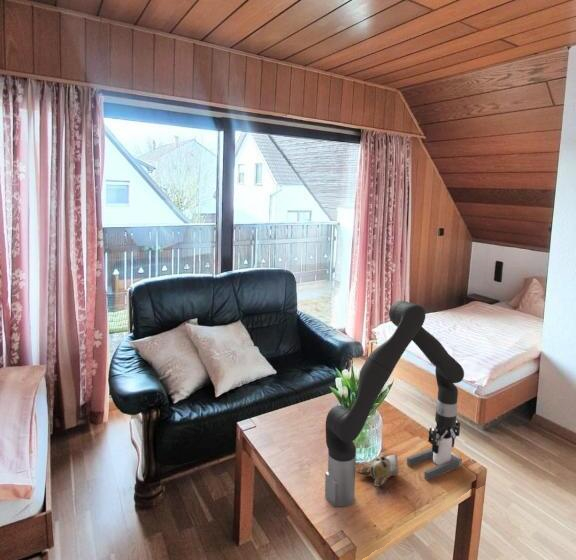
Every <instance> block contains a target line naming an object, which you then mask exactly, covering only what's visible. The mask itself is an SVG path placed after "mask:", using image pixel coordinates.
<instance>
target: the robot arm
mask: <svg viewBox="0 0 576 560" xmlns="http://www.w3.org/2000/svg"><path fill="white" fill-rule="evenodd" d="M388 317H389V320H390V321H391V323H392V324H393V325H394V326H395V327H396V329H395V331H394V332H393V333H392V335H391V336H390V337H389V338H388V339H387V340H386V341H384V342H383V343H382V344H380V345H379V346H377V347H376V348H375V349H374V350H373V351H372V352H371V353H370V354H369V355H368V356H367V358H366V360H365V361H364V364H363V365H362V367H361V369H360V370H359V375H358V387H357V388H358V389H357V396H356V399H355V401H354V403H353V405H352V407H351V409H349V408H347V407H346V406H344V405H339V404H337V405H335V406H333V407H331V409H330V410H329V411H328V412H327V415H326V419H325V443H326V447H327V450H328V451H327V456H328V457H327V471H326V472H325V479H324V482H325V483H324V484H325V485H324V497H325V498H326V500H327V501H328V502H329V503H330V504H331V505H332V506H333V508H337V507H338V508H345V507H350V506H351V505H352V504H353V503H354V502H355V487H356V485H355V484H356V462H357V461H356V460H357V459H356V458H357V457H356V456H357V450H356V449H357V448H356V444H355V443H354V441H355V440H357V437H358V436H359V435H360V434H361V432H362V430H363V429H364V426H365V424H366V422H367V419H368V418H369V415H370V413H371V411H372V408H373V407H374V405H375V403H376V401H377V399H378V397H379V395H380V394H381V392H382V390H383V389H384V386H385V385H386V383H387V382H388V381H389V379H390V377H391V375H392V373H393V371H394V369H395V368H396V366H397V364H398V362H399V361H400V359H401V357H402V356H403V354H404V352H405V351H406V349H407V348H408V346H409V345H410V344H411V342H413V343H414V344H415V345H416V346H417V347H418V348H419V350H420V351H421V352H422V353H423V355H424V356H425V357H426V359H427V360H428V361H429V362H430V363H431V364H432V365H433V366H434V367H435V370H434V372H435V379H436V384H437V389H438V390H437V398H436V399H437V400H436V404H435V405H436V406H435V415H434V416H435V418H434V420H435V423H436V425H435V427H434V428H432V427H430V428H429V431H428V440H427V442H428V443H430V444H432V446H431V447H432V451H433V452H434V453H436V454H437V453H438V448H439V445H438V444H439V443H440V441H442V440H443V438H444V437H445V436H449V434H451V437H452V448H454V447H455V441H456V438H457V437H459V436H460V433H461V432H460V431H461V422H460V421H458V420H457V416H458V395H459V390H458V388H457V386H456V385H455V384H458V383H460V382H462V381H463V379H464V377H465V370H464V368H463V367H462V365H461V364H460V363H459V362H458V361H457V360H456V359H455V358H454V357H452V356H451V354H450V353H448V351H447V350H446V349H445V347H444V346H443V344H442V343H441V341H439V339H438V338H436V337H435V336H434V335H432V334H431V333H430V332H429V331H428V330H426V329H425V327H423V325H424V323H425V320H426V310H425V308H424V307H423V306H421V305H419V304H418V303H417V304H416V303H413V302H408V301H406V300H398V301H395V302H394V303H392V305H391V306H390V308H389V311H388ZM437 434H439V435H440V436H441V437H438V436H437ZM436 438H438V440H437V441H436Z"/></svg>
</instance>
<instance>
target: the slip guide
mask: <svg viewBox="0 0 576 560" xmlns="http://www.w3.org/2000/svg"><path fill="white" fill-rule="evenodd" d="M431 458H433V451H432V448H429V449H427V450H424V451H421V452H418V453H416V454H414V455H410V456H408V457H406V465H407V466H408V467H411V466H413V465H415V464H418V463H420V462H423V461H427V460H428V459H431ZM462 463H463V459H462V458H461V456H459V455H457V454H456V453H454V452H453V451H451V461H449V462H446V463H444V464H442V465H439V466H438V465H436V466H435V467H432V468H429V469H427V470H425V471H424V480H426V481H428V480H431V479H433V478H435V477H439V476H441V475H443V474H445V473H448V472H450V471H452V470H454V469H457V468H459V467H462Z"/></svg>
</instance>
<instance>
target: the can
mask: <svg viewBox="0 0 576 560" xmlns="http://www.w3.org/2000/svg"><path fill="white" fill-rule="evenodd" d="M437 436H438V437H441V436H440V435H439V434H437ZM437 440H438V438H436V441H437ZM438 445H439V448H438V453H437V454H436V453H434V452H433V457H432V461H433V463H434V464H435V465H436V466H439V465H442V464H444V463H446V462H449V461H451V452H452V450H453V449H452V448H453V447H452V437H451V434H449V436H445V437H444V438H443V440H442V441H440V443H439V444H438Z"/></svg>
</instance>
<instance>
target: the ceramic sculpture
mask: <svg viewBox="0 0 576 560" xmlns="http://www.w3.org/2000/svg"><path fill="white" fill-rule="evenodd" d="M398 461H399V459H398V454H391V455H387V456H383V455H381V456H380V457H379V458H376V459H375V460H373V461H372V462H371V463H370V464H369V463H368V464H367V465H365V466H363V468H361V470H358V471H357V474H359V475H362V476H369V475H371V477H372V478H373V479H374V483H373V488H381V487H383V486H384V485H385V484H386V482H387V481H388V478H390V477H392V476H393V477H394V476H395V477H396V476H397V475H398V474H399V465H398Z"/></svg>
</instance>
